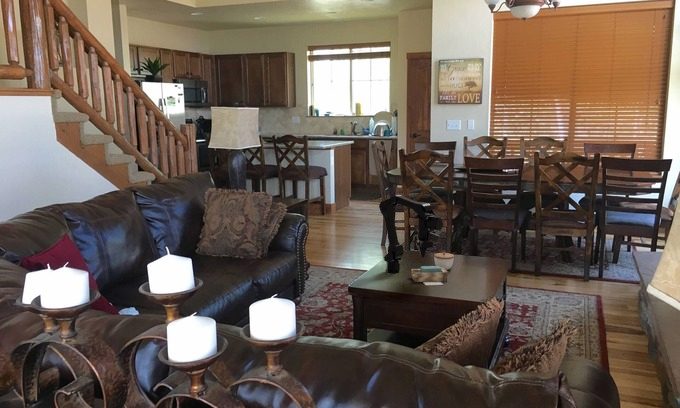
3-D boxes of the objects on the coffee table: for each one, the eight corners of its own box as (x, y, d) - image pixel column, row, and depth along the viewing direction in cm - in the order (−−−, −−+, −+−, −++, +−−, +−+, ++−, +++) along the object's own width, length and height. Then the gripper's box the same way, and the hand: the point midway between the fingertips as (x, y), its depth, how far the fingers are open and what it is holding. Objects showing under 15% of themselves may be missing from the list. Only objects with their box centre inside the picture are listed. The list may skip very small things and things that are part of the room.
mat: (425, 285, 284) (425, 284, 284) (423, 282, 289) (423, 282, 289) (443, 285, 285) (443, 284, 285) (440, 282, 290) (440, 281, 290)
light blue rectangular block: (422, 276, 292) (422, 268, 292) (420, 273, 297) (420, 266, 296) (441, 275, 293) (441, 268, 293) (438, 273, 298) (439, 265, 297)
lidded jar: (453, 271, 310) (453, 255, 309) (433, 270, 312) (434, 253, 311) (453, 266, 321) (453, 250, 319) (434, 265, 323) (434, 249, 321)
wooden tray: (415, 281, 290) (415, 272, 289) (411, 277, 298) (411, 268, 298) (447, 281, 292) (447, 271, 291) (442, 276, 300) (443, 267, 299)
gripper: (443, 231, 282) (442, 261, 285) (433, 224, 301) (432, 252, 303) (422, 231, 281) (421, 261, 283) (413, 224, 299) (412, 252, 302)
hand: (422, 257), depth 293 cm, fingers closed
